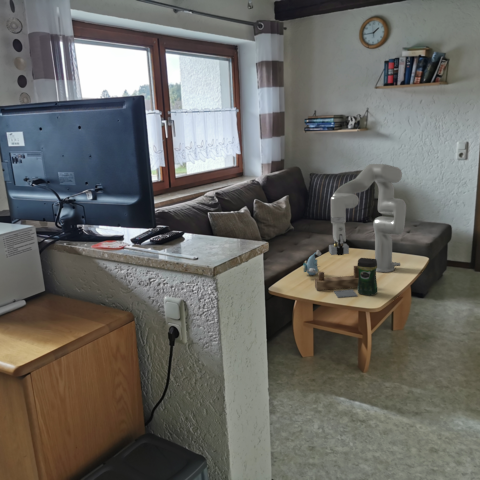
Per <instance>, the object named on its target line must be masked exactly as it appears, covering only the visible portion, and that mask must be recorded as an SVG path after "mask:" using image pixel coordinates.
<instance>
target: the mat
mask: <svg viewBox="0 0 480 480" xmlns="http://www.w3.org/2000/svg"><path fill="white" fill-rule="evenodd" d="M333 294H335V296H336V297H337V298H338V299H341V298H352V297H353V298H354V297H356V298H357V297H358V296H359V295H358V294H357V293H356V291H355V290H354V288H351V289H338V290H333Z"/></svg>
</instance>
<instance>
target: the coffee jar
mask: <svg viewBox="0 0 480 480" xmlns="http://www.w3.org/2000/svg"><path fill="white" fill-rule="evenodd" d="M356 266H357V268H358V271H359V280H358V288H357V293H358V294H359V295H363V296H375V295H377V293H378V291H379V290H378V283H377V271H376V269H377V260H376V259H375V258H368V257H360V258H358V260H357V265H356Z"/></svg>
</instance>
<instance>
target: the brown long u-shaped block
mask: <svg viewBox="0 0 480 480" xmlns="http://www.w3.org/2000/svg"><path fill="white" fill-rule="evenodd" d="M317 274H318V278H317V277H316V278H314V287H315V290H316V291H317V292H320V291H322V292H323V291H337V290H350V289H358V280H359V271H358V268H357V265H353V275H345V276H343V275H342V276H331V277H330V276H329V277H325V272H324V271H319V272H318V273H317Z"/></svg>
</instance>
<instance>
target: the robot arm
mask: <svg viewBox="0 0 480 480" xmlns="http://www.w3.org/2000/svg"><path fill="white" fill-rule="evenodd" d="M402 178H403V172H402V169H401V168H399V167H397V166H393V165H389V164H386V163H369V164H367V165H365V167H364V168H363V170H361V171H360V173H359V174H358V175H357V176H356V177H355V178H354V179H352V180H350V181H347V182H346V183H343V184H342V185H340V186H339V187H338V188H337V189H336V190H335V192H334V193H333V194H332V196H331V197H330V223H331V224H332V239H333V240H334V244H335V243H337V245H338V248H337V256H344V255H345V254H344V247H343V244H344V243H345V242H346V241H347V237H346V221H347V216H346V214H347V213H346V212H347V211H346V209H354V208H356V207H357V206H358V204H359V202H360V199H359V197H358V195H356V194H359V193H362V192H365V191H367V190H368V189H369V188H370V187H371V186H372V184H373V183H374V182H375V183H376V185H377V187H378V197H377V198H378V200H377V211H378V212H377V213H380V214H381V215H387V216H381V215H380V216H378V217H375V218H374V220H373V224H372V225H373V231H374V257H375V258H374V259H376V260H377V269H376V273H377V272H378V273H391V272H394V271H395V267H401V262H398V261H394V262H393V239H392V238H393V237H392V236H391V235H394V236H399V235H401V234H403V233H404V230H405V226H406V214H407V204H406V202H405V200H404V199H402V198H396V197H395V187H394V185H393V184H396V183H399V182H401V179H402ZM388 215H389V216H388ZM392 216H393V217H392Z"/></svg>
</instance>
